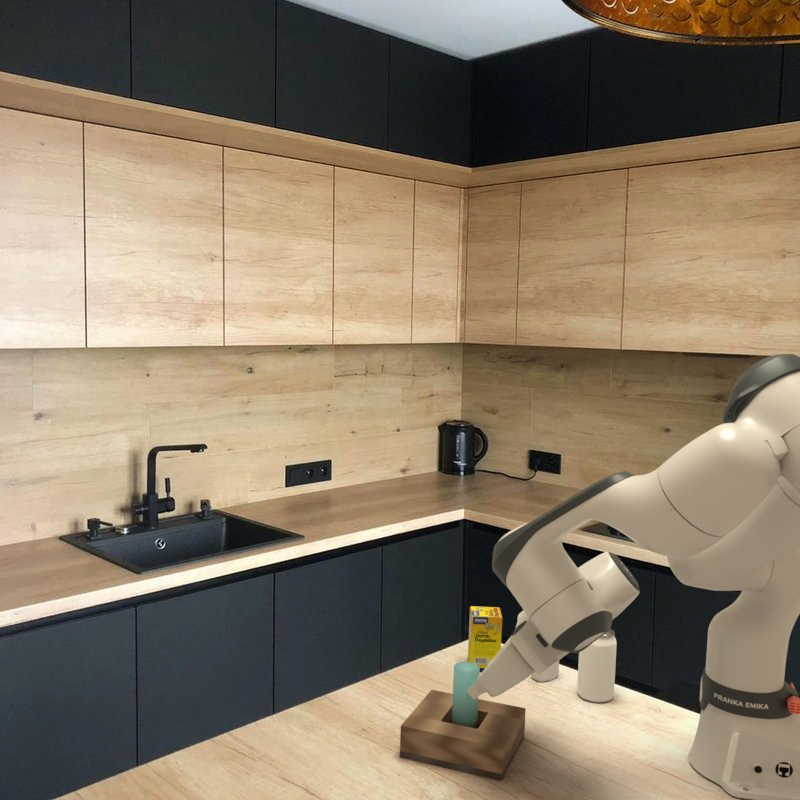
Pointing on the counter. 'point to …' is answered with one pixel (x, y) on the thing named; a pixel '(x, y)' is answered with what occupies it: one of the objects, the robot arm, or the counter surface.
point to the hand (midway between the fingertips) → (480, 681)
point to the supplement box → (484, 635)
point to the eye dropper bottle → (547, 673)
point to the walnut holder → (463, 736)
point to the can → (598, 669)
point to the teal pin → (464, 695)
